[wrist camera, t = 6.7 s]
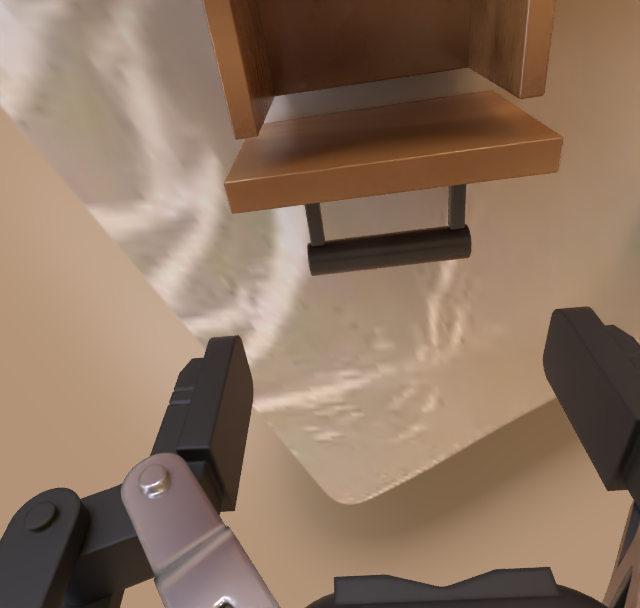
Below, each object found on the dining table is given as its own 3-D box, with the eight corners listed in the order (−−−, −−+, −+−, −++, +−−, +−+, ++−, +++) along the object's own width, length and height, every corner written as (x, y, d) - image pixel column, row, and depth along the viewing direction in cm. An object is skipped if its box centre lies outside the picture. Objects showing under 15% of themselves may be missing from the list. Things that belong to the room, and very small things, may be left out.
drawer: (486, 206, 25) (542, 285, 19) (274, 232, 26) (258, 316, 20) (523, -380, 14) (686, -673, 8) (161, -299, 15) (43, -501, 9)
